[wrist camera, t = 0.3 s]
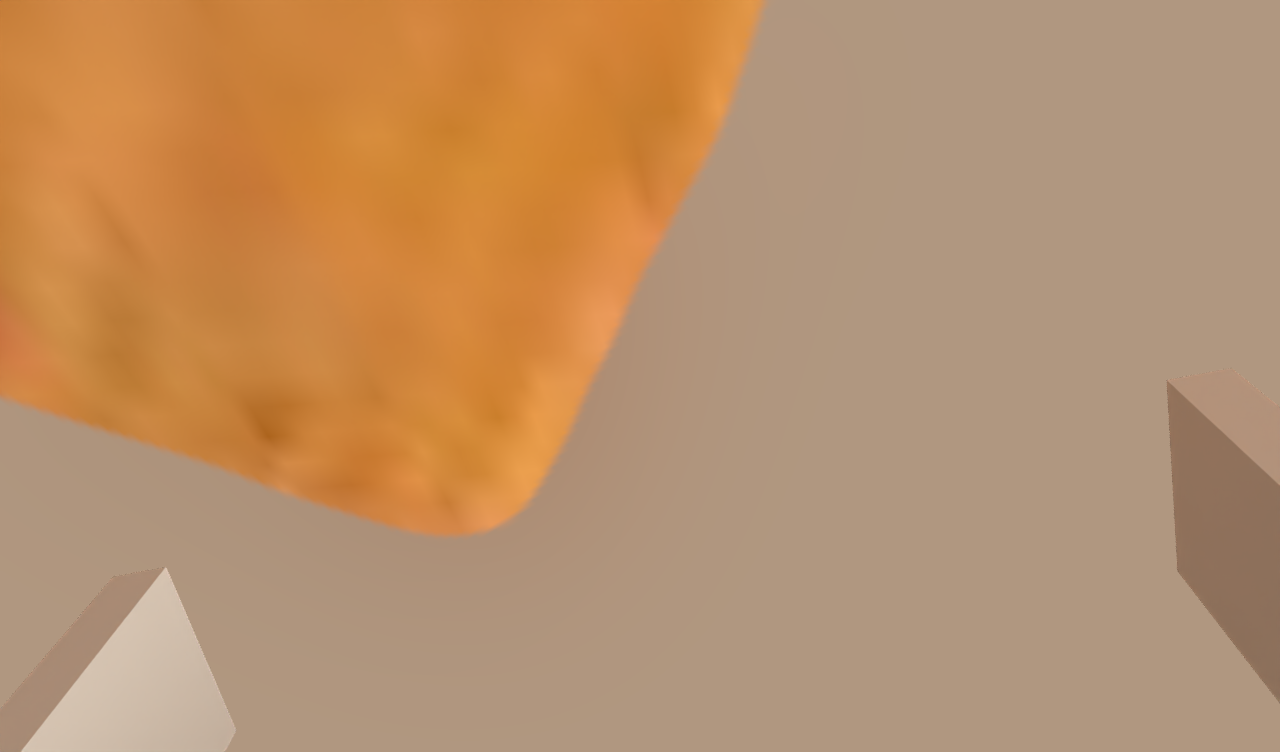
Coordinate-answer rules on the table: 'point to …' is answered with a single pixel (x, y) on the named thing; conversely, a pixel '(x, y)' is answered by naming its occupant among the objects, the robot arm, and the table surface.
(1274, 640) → the robot arm
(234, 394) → the table surface
